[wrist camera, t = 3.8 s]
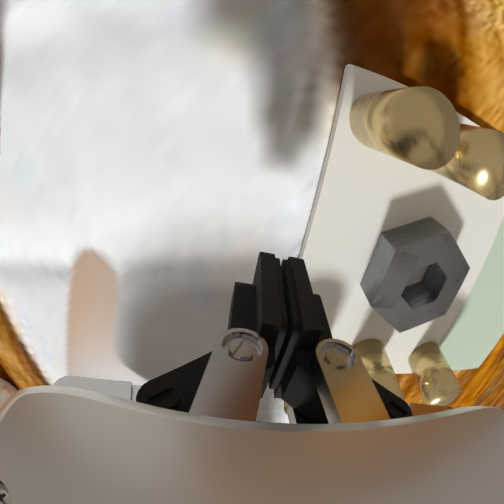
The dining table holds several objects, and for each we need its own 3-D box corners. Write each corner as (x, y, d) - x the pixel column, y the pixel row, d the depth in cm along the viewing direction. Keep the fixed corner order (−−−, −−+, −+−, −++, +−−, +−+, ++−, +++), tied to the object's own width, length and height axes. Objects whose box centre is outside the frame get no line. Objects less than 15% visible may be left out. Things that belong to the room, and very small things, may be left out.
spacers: (520, 171, 12) (568, 195, 7) (426, 365, 20) (445, 408, 16) (355, 84, 11) (401, 72, 7) (276, 358, 19) (278, 417, 15)
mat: (559, 195, 13) (564, 198, 12) (475, 362, 22) (478, 367, 21) (344, 66, 11) (349, 63, 11) (266, 358, 20) (267, 366, 20)
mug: (28, 390, 29) (2, 439, 19) (33, 412, 34) (14, 453, 24) (-10, 359, 27) (-38, 403, 17) (0, 387, 32) (-21, 425, 22)
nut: (462, 227, 14) (481, 242, 12) (420, 314, 17) (433, 334, 15) (389, 203, 14) (407, 218, 12) (349, 306, 17) (358, 329, 15)
